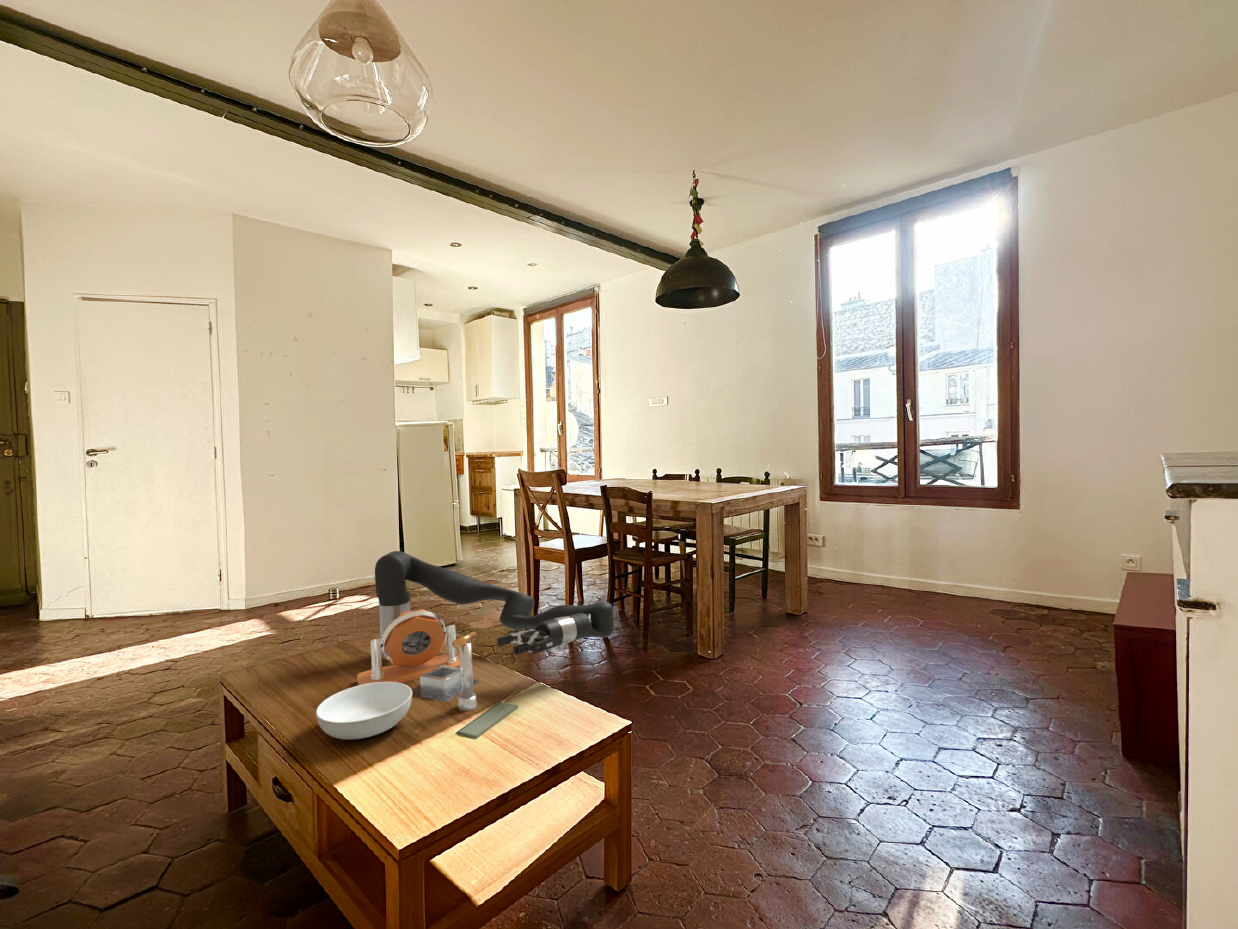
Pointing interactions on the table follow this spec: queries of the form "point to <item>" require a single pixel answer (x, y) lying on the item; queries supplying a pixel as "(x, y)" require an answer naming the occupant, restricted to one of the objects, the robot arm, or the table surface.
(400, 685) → the serving bowl
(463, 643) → the cylinder
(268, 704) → the table surface
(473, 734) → the rubber mat
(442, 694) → the chuck block
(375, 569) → the robot arm
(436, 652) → the desk clock
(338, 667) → the table surface
